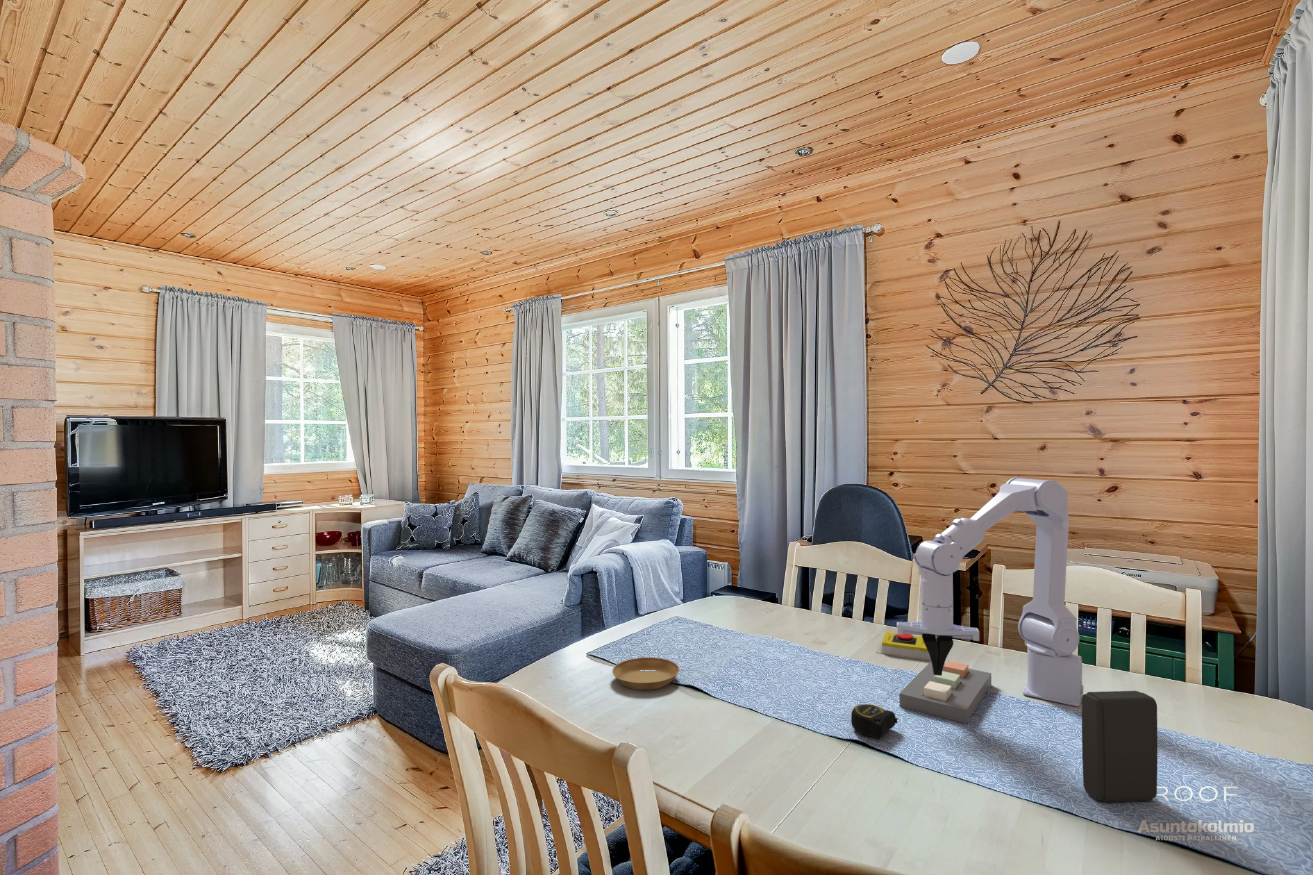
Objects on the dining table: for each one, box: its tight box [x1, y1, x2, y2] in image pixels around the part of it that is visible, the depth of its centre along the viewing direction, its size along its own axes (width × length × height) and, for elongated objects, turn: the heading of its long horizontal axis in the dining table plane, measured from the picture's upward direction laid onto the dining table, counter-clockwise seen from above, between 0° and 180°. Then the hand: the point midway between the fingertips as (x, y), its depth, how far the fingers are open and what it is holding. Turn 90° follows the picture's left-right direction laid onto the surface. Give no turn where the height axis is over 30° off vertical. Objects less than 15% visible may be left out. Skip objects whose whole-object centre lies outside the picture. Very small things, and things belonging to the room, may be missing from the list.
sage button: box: [934, 671, 960, 689], centre depth 126 cm, size 4×4×2 cm
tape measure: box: [850, 703, 899, 738], centre depth 112 cm, size 7×7×4 cm
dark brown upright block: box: [1081, 690, 1158, 803], centre depth 91 cm, size 9×4×15 cm, turn 92°
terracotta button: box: [943, 660, 969, 678], centre depth 132 cm, size 4×4×2 cm
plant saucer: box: [611, 657, 680, 691], centre depth 136 cm, size 15×15×3 cm
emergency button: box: [874, 632, 931, 662], centre depth 152 cm, size 9×4×15 cm
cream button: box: [924, 681, 951, 701], centre depth 121 cm, size 4×4×2 cm
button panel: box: [898, 661, 992, 724], centre depth 126 cm, size 12×22×2 cm, turn 141°
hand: (937, 673), depth 121 cm, fingers closed
